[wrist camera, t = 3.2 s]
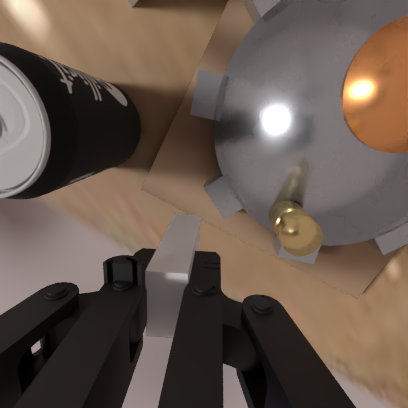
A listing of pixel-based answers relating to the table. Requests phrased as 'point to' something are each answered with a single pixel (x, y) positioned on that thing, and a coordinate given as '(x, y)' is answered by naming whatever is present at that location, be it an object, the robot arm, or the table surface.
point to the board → (208, 167)
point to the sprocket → (314, 124)
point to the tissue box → (132, 2)
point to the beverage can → (58, 124)
